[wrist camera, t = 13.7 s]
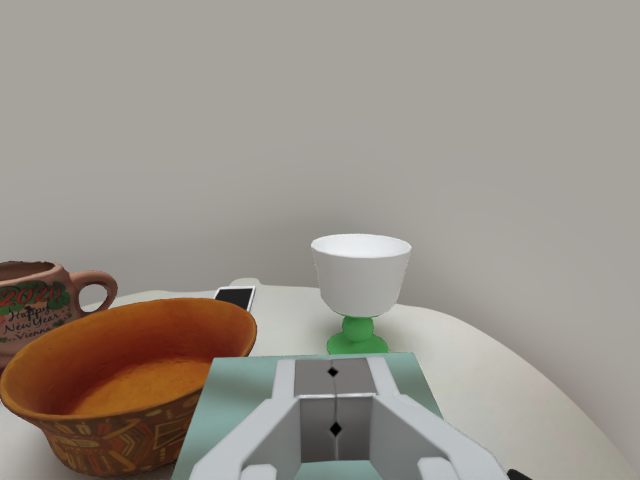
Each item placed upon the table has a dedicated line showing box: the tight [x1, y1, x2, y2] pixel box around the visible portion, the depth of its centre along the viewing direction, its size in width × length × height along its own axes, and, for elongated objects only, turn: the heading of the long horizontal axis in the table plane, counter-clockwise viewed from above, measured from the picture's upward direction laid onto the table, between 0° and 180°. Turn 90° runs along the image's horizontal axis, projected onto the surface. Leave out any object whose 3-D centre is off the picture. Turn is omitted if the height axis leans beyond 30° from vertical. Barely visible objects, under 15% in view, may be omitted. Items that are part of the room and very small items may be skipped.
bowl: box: [0, 298, 257, 477], centre depth 32 cm, size 21×21×10 cm
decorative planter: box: [0, 261, 118, 378], centre depth 40 cm, size 20×12×14 cm, turn 138°
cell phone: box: [213, 286, 256, 312], centre depth 61 cm, size 8×16×1 cm, turn 6°
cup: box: [311, 234, 412, 355], centre depth 45 cm, size 14×14×16 cm
